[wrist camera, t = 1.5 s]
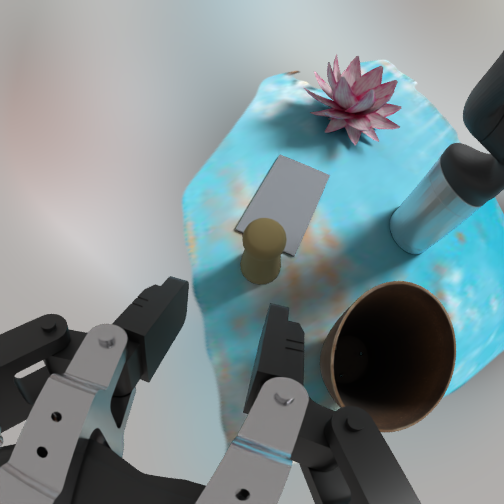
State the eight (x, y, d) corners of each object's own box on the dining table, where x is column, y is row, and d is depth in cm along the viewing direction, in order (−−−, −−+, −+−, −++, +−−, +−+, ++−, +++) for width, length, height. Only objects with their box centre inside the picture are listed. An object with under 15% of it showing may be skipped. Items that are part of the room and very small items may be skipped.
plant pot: (399, 327, 37) (466, 306, 23) (370, 416, 32) (432, 438, 17) (317, 296, 39) (358, 259, 24) (280, 391, 34) (304, 415, 19)
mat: (279, 155, 49) (279, 154, 48) (329, 176, 47) (329, 175, 47) (235, 229, 43) (235, 228, 43) (294, 256, 41) (294, 255, 41)
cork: (288, 262, 41) (302, 230, 31) (263, 292, 39) (269, 269, 29) (257, 238, 42) (261, 200, 32) (231, 267, 41) (227, 235, 30)
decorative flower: (283, 102, 55) (290, 47, 41) (352, 92, 59) (367, 47, 45) (334, 167, 48) (358, 107, 34) (405, 148, 52) (432, 102, 38)
